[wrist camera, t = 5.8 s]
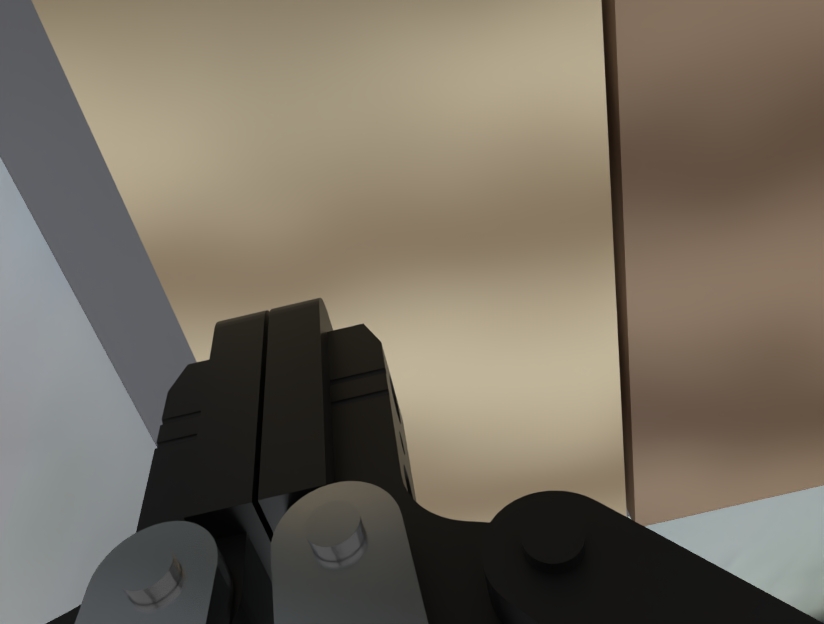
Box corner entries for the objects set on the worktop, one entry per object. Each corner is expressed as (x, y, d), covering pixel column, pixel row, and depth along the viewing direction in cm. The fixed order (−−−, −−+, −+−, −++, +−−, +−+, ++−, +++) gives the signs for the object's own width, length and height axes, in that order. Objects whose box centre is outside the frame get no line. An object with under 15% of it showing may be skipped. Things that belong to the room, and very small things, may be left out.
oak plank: (-130, -483, 10) (-217, -542, 8) (522, -645, 10) (564, -737, 8) (308, 548, 22) (308, 606, 21) (604, 482, 22) (627, 536, 21)
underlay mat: (-408, -637, 10) (-439, -657, 9) (1295, -1054, 9) (1343, -1095, 9) (243, 591, 24) (241, 604, 24) (915, 437, 24) (925, 447, 23)
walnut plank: (539, -641, 10) (585, -733, 8) (1194, -801, 10) (1370, -923, 8) (611, 475, 22) (636, 528, 21) (905, 408, 22) (954, 455, 21)
